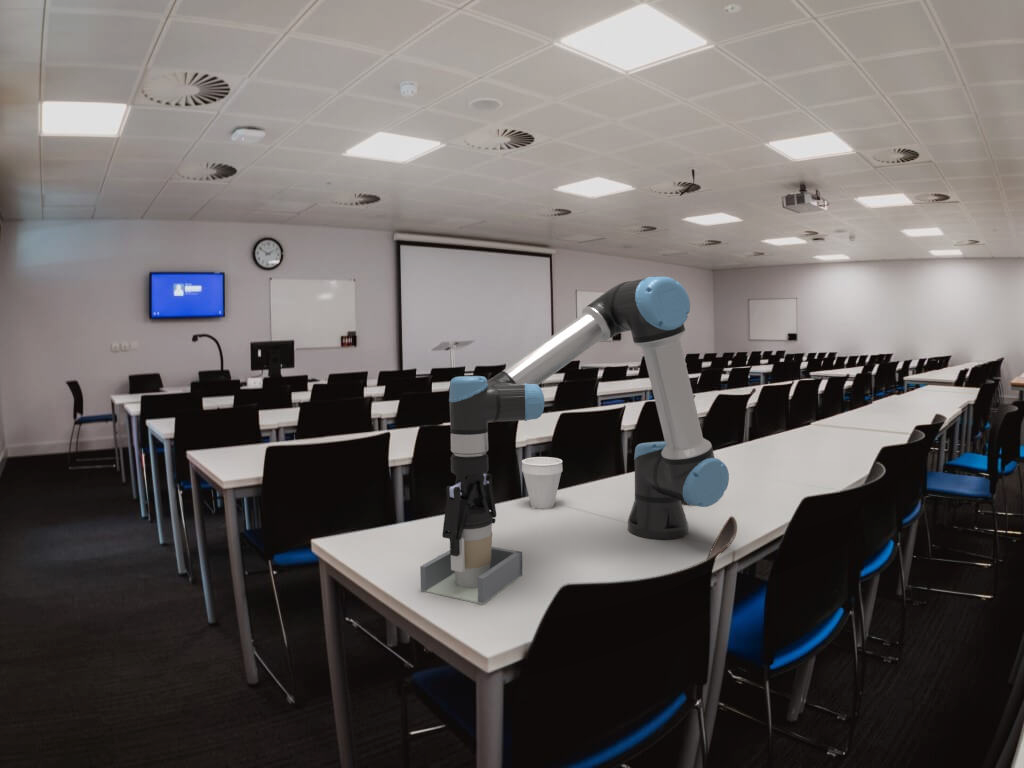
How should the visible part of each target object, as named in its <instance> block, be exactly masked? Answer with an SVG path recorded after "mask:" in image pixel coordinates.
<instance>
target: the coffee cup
mask: <svg viewBox="0 0 1024 768" xmlns="http://www.w3.org/2000/svg"><path fill="white" fill-rule="evenodd" d="M492 522H493V519H492V515H491V514H490V513H489V512H488V511H487V510H486V509H485V508H482V507H475V506H469V507H468V512H467V516H466V520H465V524H464V528H463V532H462V536H461V538H464V559H465V571H464V572H459V571H455V579H456V584H457V585H459V586H461V587H465V588H476V587H478V577H479V576H481V575H482V574H484V573H485V572H487V571H488V570H490V562H491V549H492V547H493V545H492V544H493V531H492V530H493V529H492V528H493V527H492V526H493V523H492Z"/></svg>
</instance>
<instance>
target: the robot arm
mask: <svg viewBox="0 0 1024 768" xmlns="http://www.w3.org/2000/svg"><path fill="white" fill-rule="evenodd" d="M690 309H691V301H690V297H689V294H688V292H687V290H686V288H685V287H684V286H683V285H682V284H681V283H680V282H679V281H677V280H676V279H674V278H672V277H668V276H656V275H655V276H648V277H644V278H640V279H639V278H638V279H635V280H629V281H628V280H627V281H624V282H621V283H618V284H617V285H615V286H613V287H611V288H610V289H608V290H607V291H606V292H604V293H603V294H601V295H600V296H598V298H596V299H594V300H593V301H592V302H591V303H589V304H588V305H586V306H585V307H584V308H583V309H582V310H581V314H580V316H578V317H576V318H575V319H574V320H572V321H571V322H570V323H568V324H567V325H565V326H564V327H562V328H561V329H560V330H558V331H557V332H555V333H554V334H552V335H551V336H549V338H547V339H546V340H544V341H542V342H541V343H540V344H539V345H537V346H536V347H534V348H533V349H531V350H530V351H528V352H527V353H526V354H524V355H523V356H521V357H520V358H518V359H517V360H516V361H514V362H513V363H512V364H510V365H509V366H508V367H506V368H504V369H503V370H502V371H500V372H499V373H497V374H496V375H494V376H493V377H491V378H490V379H487V378H486V376H481V375H472V376H471V375H470V376H469V375H466V376H465V375H464V376H463V375H462V376H455V377H453V378H452V379H451V380H450V382H449V396H448V397H449V398H448V402H449V417H450V418H449V422H450V451H451V453H452V454H451V455H450V472H451V473H452V474H453V475H455V477H456V478H455V482H454V483H455V484H454V485H452V486H451V485H447V486H446V489H445V493H446V500H445V502H446V503H445V510H444V517H443V518H444V520H443V527H442V538H443V539H449V550H450V554H451V570H454V571H459V572H464V571H465V559H464V538H461V536H462V532H463V528H464V524H465V520H466V516H467V512H468V507H471V506H472V504H473V505H474V506H473V507H482V508H485V509H486V510H487V511H488V512H489V513H490V514H491V515H492V519H493V522H492V525H494V524H495V523H496V518H497V509H496V502H495V498H494V497H495V496H494V492H493V484H492V483H493V476H492V474H490V473H488V471H489V454H487V452H489V434H488V433H489V427H488V425H489V423H496V422H518V421H519V422H520V421H524V422H527V421H530V420H537V419H539V418H540V417H542V415H543V412H544V408H545V396H544V393H543V390H542V388H541V387H540V385H541V384H542V383H544V382H545V381H546V380H547V379H548V378H550V377H552V376H553V375H554V374H556V373H557V372H559V371H560V370H561V369H562V368H565V367H566V366H567V365H568V364H570V363H571V362H572V361H573V360H574V361H575V359H576V358H578V357H579V356H580V355H582V354H584V353H585V352H586V351H588V350H589V349H591V348H592V347H593V346H595V345H596V344H597V343H599V342H600V341H601V342H607V341H608V340H611V338H613V337H615V336H617V335H619V334H621V333H625V332H630V333H631V336H632V340H633V344H634V345H635V346H638V347H639V348H641V349H642V352H643V356H644V357H643V358H644V360H645V365H646V370H647V374H648V377H649V381H650V385H651V390H652V394H653V398H654V403H655V406H656V411H657V414H658V418H659V419H658V420H659V423H660V426H661V431H662V434H663V439H664V442H661V441H651V442H650V441H649V442H642V443H639V444H637V445H636V446H635V449H634V458H633V460H634V501H633V504H632V507H631V510H630V513H629V515H628V519H627V531H628V532H629V533H631V534H633V535H635V536H638V537H642V538H646V539H647V538H648V539H655V540H671V539H680V538H683V537H685V536H687V535H688V533H689V524H688V519H687V516H686V513H685V511H684V507H683V505H682V502H684V503H685V502H686V503H687V505H690V506H696V507H700V508H706V507H707V508H708V507H710V506H712V505H715V504H716V503H718V502H719V501H720V500H721V499H722V498H723V496H724V494H725V492H726V491H727V488H728V486H729V481H730V473H729V470H728V467H727V465H726V463H724V462H723V461H722V460H721V459H719V458H715V454H714V450H713V449H714V448H713V445H712V443H711V442H710V440H708V439H706V438H704V437H703V432H702V428H701V423H700V418H699V415H698V410H697V406H696V403H695V397H694V394H693V388H692V385H691V380H690V376H689V372H688V367H687V362H686V359H685V355H684V350H683V346H682V341H681V339H682V337H683V335H684V333H685V332H686V328H685V322H686V321H687V319H688V314H690V313H691V312H690V311H691V310H690Z"/></svg>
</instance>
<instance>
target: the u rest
mask: <svg viewBox="0 0 1024 768" xmlns="http://www.w3.org/2000/svg"><path fill="white" fill-rule="evenodd" d="M419 570H420V571H419V572H420V591H421V592H424V593H429V594H433V595H439V596H441V597H442V596H443V597H448V598H452V599H455V600H456V599H457V600H461V601H465V602H470V603H475V604H479V605H485V604H487V603H488V602H489V601H490V600H492V599H493V598H494V597H496V596H497V595H498V594H499V593H501V592H502V591H503V590H505V589H506V588H507V587H508V586H510V585H511V584H512V583H514V582H515V581H516V580H518V579H519V578H522V577H521V576H523V551H518V550H513V549H508V548H501V547H495V546H492V549H491V562H490V570H488V571H487V572H485V573H484V574H482V575H481V576H479V577H478V587H476V588H465V587H461V586H459V585H457V584H456V579H455V571H454V570H451V554H450V549H449V550H447V551H445V552H444V553H442V554H439V555H438V556H436V557H435V558H433V559H431V560H430V561H429V560H428V562H426V563H424V564H422V565H420V569H419Z"/></svg>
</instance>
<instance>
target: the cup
mask: <svg viewBox="0 0 1024 768" xmlns="http://www.w3.org/2000/svg"><path fill="white" fill-rule="evenodd" d="M521 472H522V475H523V477H524V482H525V486H526V490H527V495H528V499H529V503H530V505H531V508H533V509H540V510H546V509H552V508H554V506H555V503H556V498H557V495H558V494H557V493H558V490H559V489H558V488H559V483H560V479H561V476H562V472H563V460H562V459H561V458H558V457H551V456H550V457H549V456H535V457H527V458H525V459H524V458H523V459H522V460H521Z"/></svg>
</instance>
